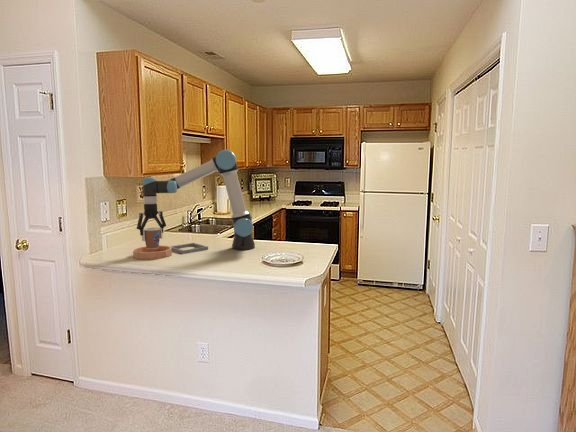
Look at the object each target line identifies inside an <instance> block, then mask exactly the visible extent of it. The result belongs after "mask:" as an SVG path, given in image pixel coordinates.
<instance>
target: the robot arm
mask: <svg viewBox="0 0 576 432" xmlns="http://www.w3.org/2000/svg"><path fill="white" fill-rule="evenodd" d="M238 171H239V167H238V163H237V156H236V155H235V153H234V152H233V151H231V150H229V149H223V150H220V151H219V152H217V154H216V156H214V157H212V158H211V160H209V161H207V162H205V163H202V164H200V165H198V166H196V167H194V168H192V169H189V170H188V171H185V172H183V173H181V174H179V175H177V176H174V177H172V178H170V179H168V180H157V178H156V177H143V179H142V193H143V211H144V212H139V213H138V216H139V217H138V222H137V224H136V230H139V235H140V236H141V241H143V242H145V230H143V229H144V228H146V224H147V223H148V221H149V220H151V219H153V220H155V222H156V224H157V225H158V226H159V228H161V229H160V239H161V240H162V239H163V234H164V228H166V227H167V224H166V221H165V218H164V216H163V215H164V214H163V211H162V210H159V211H158V204H157V202H158V198H157V197H158V195H157V194H175V193H177V192H178V189H180V188H184V187H185V186H187V185H189V184H191V183H193V182H196V181H198V180H200V179H202V178H205V177H207V176H209V175H211V174H213V173H215V172H217V173H219V175H221V176H222V177H223V182H224V185H225V188H226V189H225V190H226V193H227V197H228V201H229V204H230V208H231V212H232V215H231V221H232V225H233V234H234V235H233V236H234V237H233V241H232V244H231V248H232V249H233V250H237V251H238V250H240V251H246V250H247V251H248V250H251V249H255V248H256V243H255V241H254V238H253V231H254V224H253V221H252V220H253V219H252V218H253V216H252V214H251V213H250V212H249V211H248V210H247V207H246V204H245V200H244V195H243V192H242V188H241V185H240V181H239V177H238V173H237V172H238ZM144 216H145V217H144ZM158 216H159V217H158ZM143 218H144V219H143Z"/></svg>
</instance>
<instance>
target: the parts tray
mask: <svg viewBox="0 0 576 432" xmlns="http://www.w3.org/2000/svg"><path fill="white" fill-rule="evenodd" d="M170 247H172V252H174V253H178V254H181V255H184V254H185V255H187V254H190V253H197V252H201V251H208V250H209V246H207V245H203V244H199V243H196V242H191V243H183V244H178V245H171V246H170ZM190 247H195V248H190ZM185 248H190V249H185Z"/></svg>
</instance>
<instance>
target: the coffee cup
mask: <svg viewBox="0 0 576 432" xmlns="http://www.w3.org/2000/svg"><path fill="white" fill-rule="evenodd" d="M160 229H161V228H160V227H157V226H155V227H144V229H143V230H145V241H144V242H145V243H144V244H145V247H147V249H157V248H159V245H160V239H161V238H160Z"/></svg>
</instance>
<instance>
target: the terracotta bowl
mask: <svg viewBox="0 0 576 432" xmlns="http://www.w3.org/2000/svg"><path fill="white" fill-rule="evenodd" d="M132 254H133V258H134V259H136V260H141V261H143V260H144V261H145V260H146V261H147V260H148V261H149V260H150V261H152V260H159V259H161V260H162V259H165V258H169V257H170V256H172V254H173V251H172V247H170V246H169V245H160V244H159V248H157V249H147V247H146V246H141V247H137V248H135V249H133V251H132Z"/></svg>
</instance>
